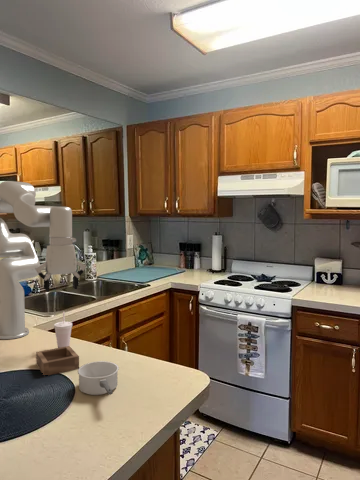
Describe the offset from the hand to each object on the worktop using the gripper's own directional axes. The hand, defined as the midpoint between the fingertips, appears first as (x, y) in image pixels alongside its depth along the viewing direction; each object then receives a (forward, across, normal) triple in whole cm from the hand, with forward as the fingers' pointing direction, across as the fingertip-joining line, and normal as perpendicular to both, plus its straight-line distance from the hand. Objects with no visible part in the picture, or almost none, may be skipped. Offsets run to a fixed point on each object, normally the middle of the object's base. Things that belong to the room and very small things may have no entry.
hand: (61, 289), depth 128 cm
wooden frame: (+22, +4, +12) cm, 26 cm away
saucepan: (+23, -2, +37) cm, 44 cm away
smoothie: (+23, -1, -1) cm, 23 cm away
